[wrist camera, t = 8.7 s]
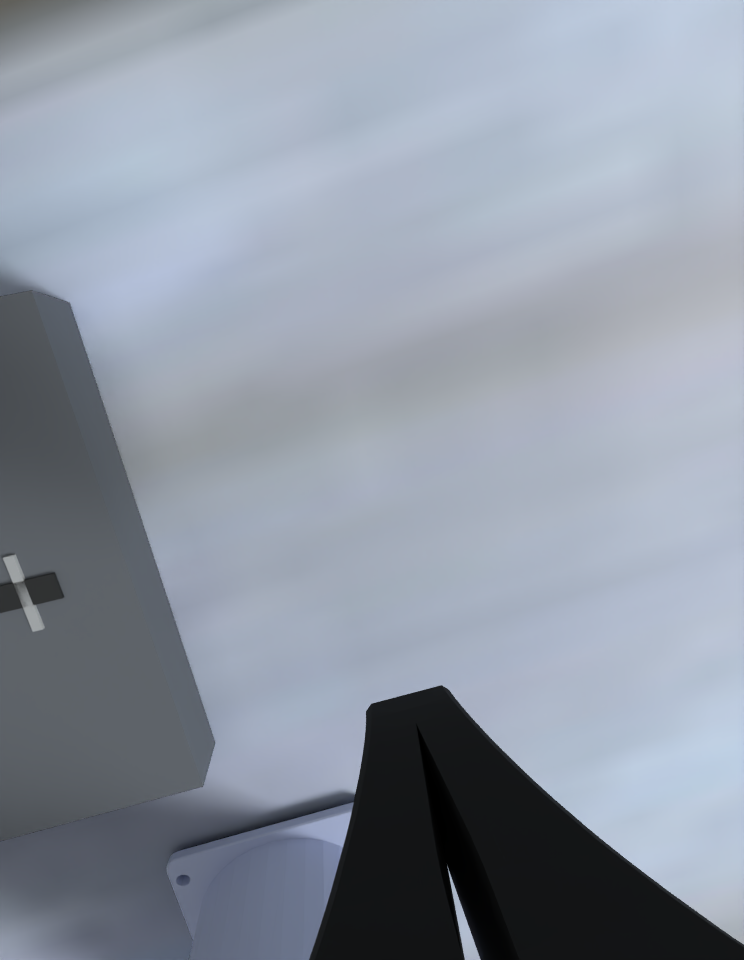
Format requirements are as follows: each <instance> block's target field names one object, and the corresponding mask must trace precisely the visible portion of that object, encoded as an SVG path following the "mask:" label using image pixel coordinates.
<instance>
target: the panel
mask: <svg viewBox="0 0 744 960" xmlns="http://www.w3.org/2000/svg"><path fill="white" fill-rule="evenodd" d="M214 746H215V740H214V737H213V734H212V731H211V728H210V725H209V722H208V719H207V716H206V713H205V710H204V707H203V704H202V701H201V698H200V695H199V692H198V689H197V686H196V683H195V680H194V677H193V674H192V671H191V668H190V665H189V662H188V659H187V656H186V653H185V650H184V647H183V644H182V641H181V638H180V635H179V632H178V629H177V626H176V623H175V620H174V617H173V614H172V611H171V608H170V605H169V602H168V599H167V596H166V593H165V589H164V586H163V583H162V580H161V577H160V574H159V571H158V568H157V565H156V562H155V559H154V556H153V553H152V550H151V547H150V544H149V541H148V538H147V535H146V532H145V529H144V526H143V523H142V520H141V517H140V514H139V511H138V508H137V505H136V502H135V499H134V496H133V493H132V490H131V487H130V484H129V481H128V478H127V475H126V472H125V469H124V466H123V463H122V460H121V457H120V454H119V451H118V448H117V445H116V442H115V438H114V435H113V432H112V429H111V426H110V423H109V420H108V417H107V414H106V411H105V408H104V405H103V402H102V399H101V396H100V393H99V390H98V387H97V384H96V381H95V378H94V375H93V372H92V369H91V366H90V363H89V360H88V357H87V354H86V351H85V348H84V345H83V342H82V339H81V336H80V333H79V330H78V327H77V324H76V321H75V318H74V315H73V312H72V309H71V306H70V303H69V302H66V301H63V300H59V299H56V298H53V297H50V296H47V295H44V294H41V293H38V292H35V291H32V290H31V291H26V292H21V293H15V294H10V295H5V296H0V841H4V840H7V839H11V838H15V837H18V836H22V835H26V834H29V833H33V832H37V831H41V830H44V829H48V828H52V827H55V826H59V825H63V824H66V823H70V822H74V821H77V820H81V819H85V818H89V817H92V816H96V815H100V814H103V813H107V812H111V811H114V810H118V809H122V808H125V807H129V806H133V805H137V804H140V803H144V802H148V801H151V800H155V799H159V798H162V797H166V796H170V795H173V794H177V793H181V792H185V791H188V790H192V789H196V788H199V787H203V785H204V782H205V778H206V775H207V771H208V767H209V764H210V760H211V756H212V753H213V749H214Z"/></svg>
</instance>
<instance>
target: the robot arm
mask: <svg viewBox="0 0 744 960" xmlns="http://www.w3.org/2000/svg"><path fill="white" fill-rule="evenodd" d="M447 866H448V868H449V871H450V874H451V877H452V880H453V883H454V885H455V888H456V891H457V894H458V897H459V900H460V902H461V905H462V908H463V911H464V914H465V917H466V919H467V922H468V925H469V928H470V931H471V933H472V936H473V939H474V942H475V945H476V948H477V950H478V953H479V956H480V959H481V960H744V945H743V944H742V943H740V942H739V941H737V940H736V939H734V938H733V937H731V936H730V935H728V934H727V933H726V932H724V931H723V930H721V929H720V928H719V927H717V926H716V925H714V924H713V923H712V922H710V921H709V920H707V919H706V918H705V917H703V916H702V915H700V914H699V913H698V912H696V911H695V910H694V909H692V908H691V907H689V906H688V905H687V904H685V903H684V902H682V901H681V900H680V899H678V898H677V897H675V896H674V895H673V894H671V893H670V892H669V891H667V890H666V889H665V888H663V887H662V886H661V885H659V884H658V883H657V882H655V881H654V880H653V879H651V878H650V877H649V876H647V875H646V874H645V873H644V872H642V871H641V870H640V869H638V868H637V867H636V866H634V865H633V864H632V863H630V862H629V861H628V860H626V859H625V858H624V857H623V856H621V855H620V854H619V853H618V852H616V851H615V850H614V849H613V848H611V847H610V846H609V845H608V844H606V843H605V842H604V841H603V840H601V839H600V838H599V837H598V836H597V835H595V834H594V833H593V832H592V831H591V830H589V829H588V828H587V827H586V826H585V825H583V824H582V823H581V822H580V821H579V820H578V819H576V818H575V817H574V816H573V815H572V814H571V813H570V812H568V811H567V810H566V809H565V808H564V807H563V806H561V805H560V804H559V803H558V802H557V801H556V800H554V799H553V798H552V797H551V796H550V795H549V794H548V793H547V792H546V791H545V790H543V789H542V788H541V787H540V786H539V785H538V784H537V783H536V782H535V781H534V780H533V779H531V778H530V777H529V776H528V775H527V774H526V773H525V772H524V771H523V770H522V769H521V768H520V767H519V766H518V765H517V764H516V763H515V762H514V761H513V760H512V759H511V758H510V757H509V756H508V755H507V754H506V753H505V752H504V751H502V749H501V748H500V747H499V746H498V745H497V744H496V743H495V742H494V741H493V740H492V739H491V738H490V737H489V736H488V735H487V734H486V733H485V732H484V731H483V730H482V729H481V728H480V726H479V725H478V724H477V723H476V722H475V721H474V720H473V719H472V718H471V717H470V715H469V714H468V713H467V712H466V711H465V710H464V708H463V707H462V706H461V705H460V704H459V702H458V701H457V700H456V699H455V697H454V696H453V695H452V694H451V692H450V691H449V690H448V689H447V688H445V687H443V686H442V685H441V686H437V687H433V688H430V689H426V690H422V691H418V692H414V693H411V694H407V695H403V696H399V697H396V698H392V699H388V700H384V701H381V702H377V703H373V704H371V705H370V707H369V708H368V710H367V711H366V733H365V743H364V750H363V757H362V763H361V769H360V775H359V780H358V784H357V789H356V794H355V799H354V802H352V803H349V804H345V805H341V806H338V807H334V808H331V809H327V810H324V811H320V812H316V813H313V814H309V815H306V816H302V817H298V818H295V819H291V820H288V821H284V822H281V823H277V824H273V825H270V826H266V827H263V828H259V829H255V830H252V831H248V832H245V833H241V834H238V835H234V836H230V837H227V838H223V839H220V840H216V841H213V842H209V843H205V844H202V845H198V846H195V847H191V848H187V849H184V850H180V851H177V852H175V853H173V854H172V855H171V856H170V858H169V861H168V864H167V867H166V871H167V875H168V877H169V880H170V883H171V885H172V888H173V890H174V893H175V895H176V898H177V901H178V903H179V906H180V908H181V911H182V914H183V916H184V919H185V921H186V924H187V927H188V929H189V932H190V934H191V937H192V940H193V944H192V949H191V953H190V958H189V960H465V959H464V953H463V948H462V943H461V937H460V932H459V926H458V921H457V916H456V910H455V905H454V900H453V894H452V889H451V884H450V878H449V873H448V868H447ZM184 875H185V876H184Z"/></svg>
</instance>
